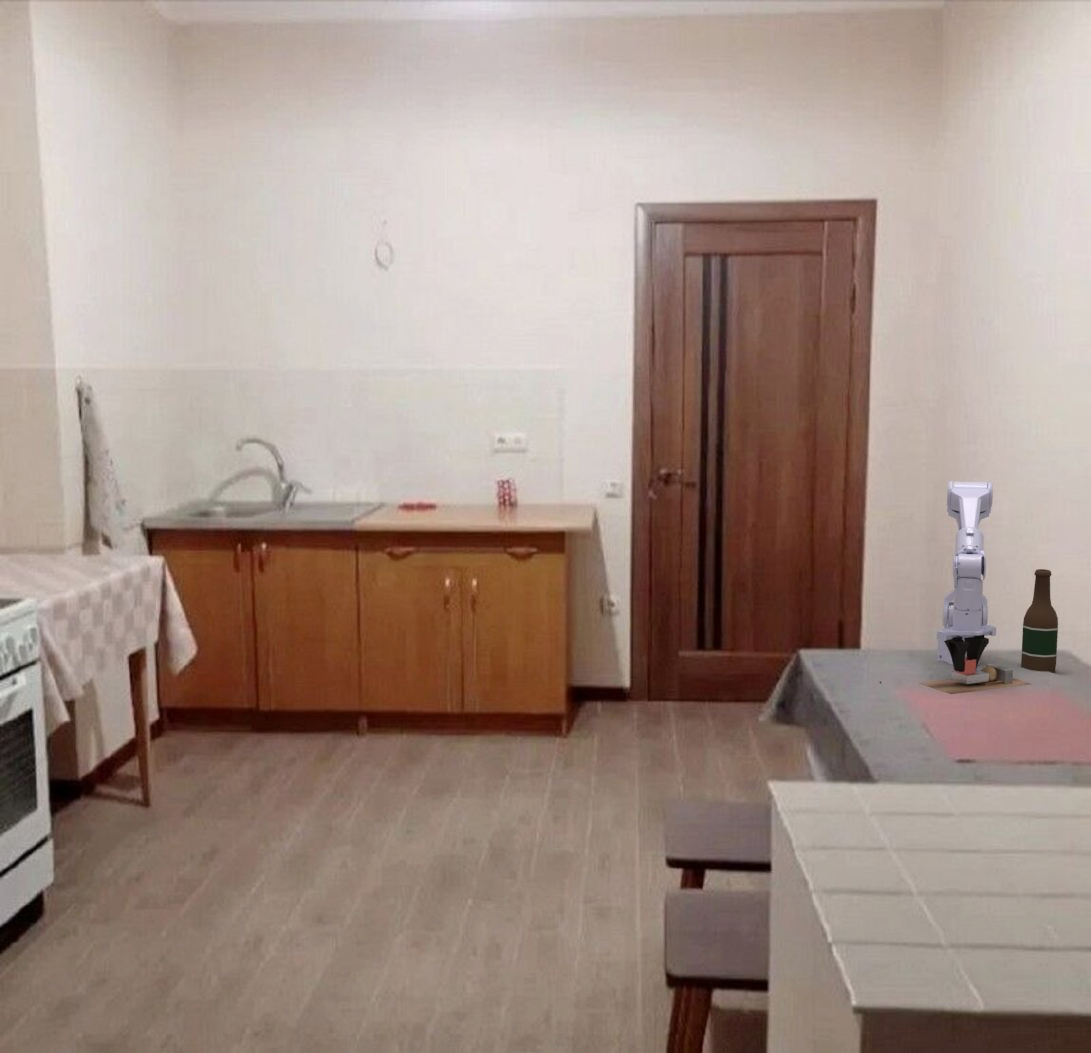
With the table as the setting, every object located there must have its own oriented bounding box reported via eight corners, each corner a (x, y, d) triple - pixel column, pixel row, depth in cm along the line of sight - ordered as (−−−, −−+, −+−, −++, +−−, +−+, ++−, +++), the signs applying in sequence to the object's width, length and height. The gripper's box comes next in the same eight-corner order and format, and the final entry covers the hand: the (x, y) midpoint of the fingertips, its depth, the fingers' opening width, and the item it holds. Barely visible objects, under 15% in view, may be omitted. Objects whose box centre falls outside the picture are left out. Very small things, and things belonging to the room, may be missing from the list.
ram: (952, 679, 242) (953, 656, 241) (973, 676, 244) (974, 654, 243) (966, 684, 238) (967, 661, 237) (988, 681, 240) (989, 658, 239)
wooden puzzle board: (918, 688, 242) (919, 669, 242) (997, 678, 250) (998, 660, 250) (950, 699, 233) (951, 680, 233) (1031, 689, 241) (1032, 670, 240)
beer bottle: (1049, 668, 259) (1054, 567, 257) (1061, 676, 252) (1067, 572, 249) (1015, 667, 260) (1019, 567, 257) (1026, 676, 252) (1031, 572, 250)
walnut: (974, 678, 244) (978, 663, 244) (986, 681, 245) (990, 666, 245) (986, 682, 240) (990, 666, 240) (997, 685, 242) (1002, 669, 242)
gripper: (953, 614, 232) (951, 677, 234) (1007, 609, 237) (1005, 671, 239) (930, 608, 239) (928, 670, 240) (983, 603, 244) (981, 664, 246)
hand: (965, 670), depth 240 cm, fingers closed on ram, 3 cm apart
